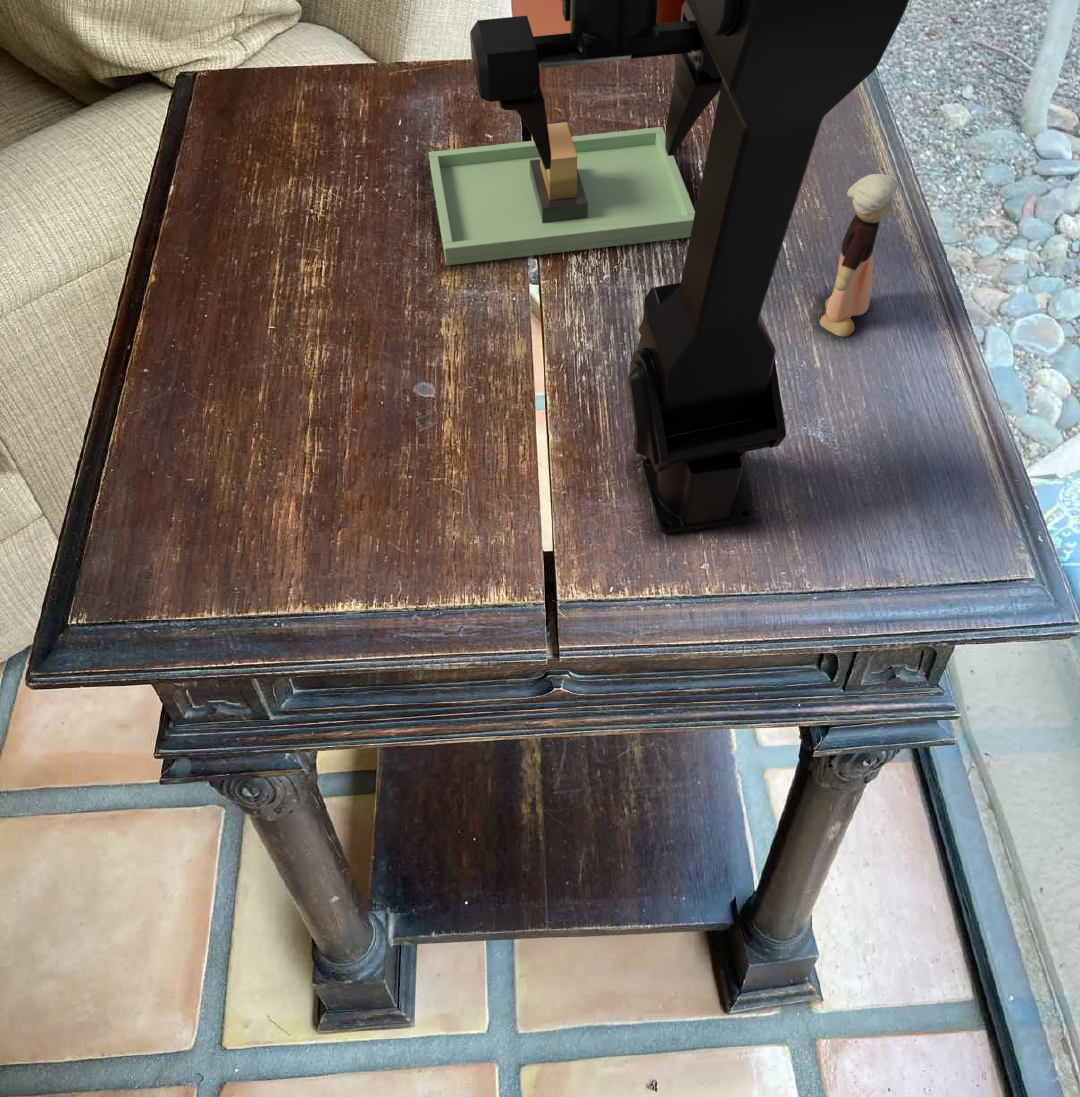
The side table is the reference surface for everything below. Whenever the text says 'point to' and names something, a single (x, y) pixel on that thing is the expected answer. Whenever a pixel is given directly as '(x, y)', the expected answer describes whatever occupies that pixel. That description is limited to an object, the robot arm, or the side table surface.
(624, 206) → the tray
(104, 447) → the side table surface
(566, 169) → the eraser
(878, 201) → the grandmother figurine
